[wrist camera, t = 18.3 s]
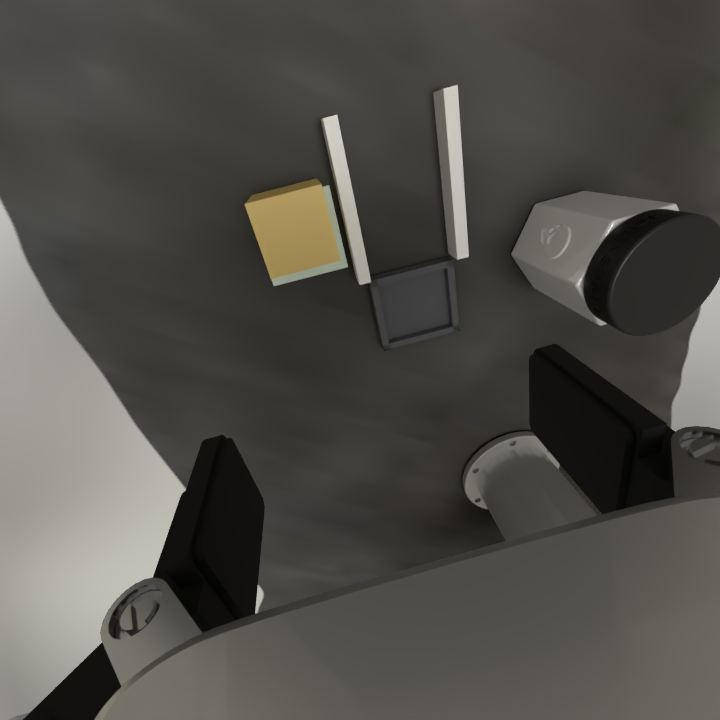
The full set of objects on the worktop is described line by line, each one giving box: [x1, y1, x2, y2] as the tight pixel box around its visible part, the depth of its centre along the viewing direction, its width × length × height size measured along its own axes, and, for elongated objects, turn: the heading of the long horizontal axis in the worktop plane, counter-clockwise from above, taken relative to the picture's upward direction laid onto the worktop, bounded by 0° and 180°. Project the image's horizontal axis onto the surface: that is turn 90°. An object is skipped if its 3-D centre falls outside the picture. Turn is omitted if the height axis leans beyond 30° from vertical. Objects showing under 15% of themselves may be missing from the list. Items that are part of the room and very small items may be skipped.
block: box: [245, 178, 341, 279], centre depth 28 cm, size 5×5×6 cm
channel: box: [321, 85, 469, 285], centre depth 30 cm, size 12×10×2 cm
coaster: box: [272, 185, 348, 286], centre depth 31 cm, size 6×6×1 cm
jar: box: [511, 191, 720, 336], centre depth 30 cm, size 9×8×12 cm
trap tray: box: [369, 256, 460, 351], centre depth 35 cm, size 7×8×1 cm
